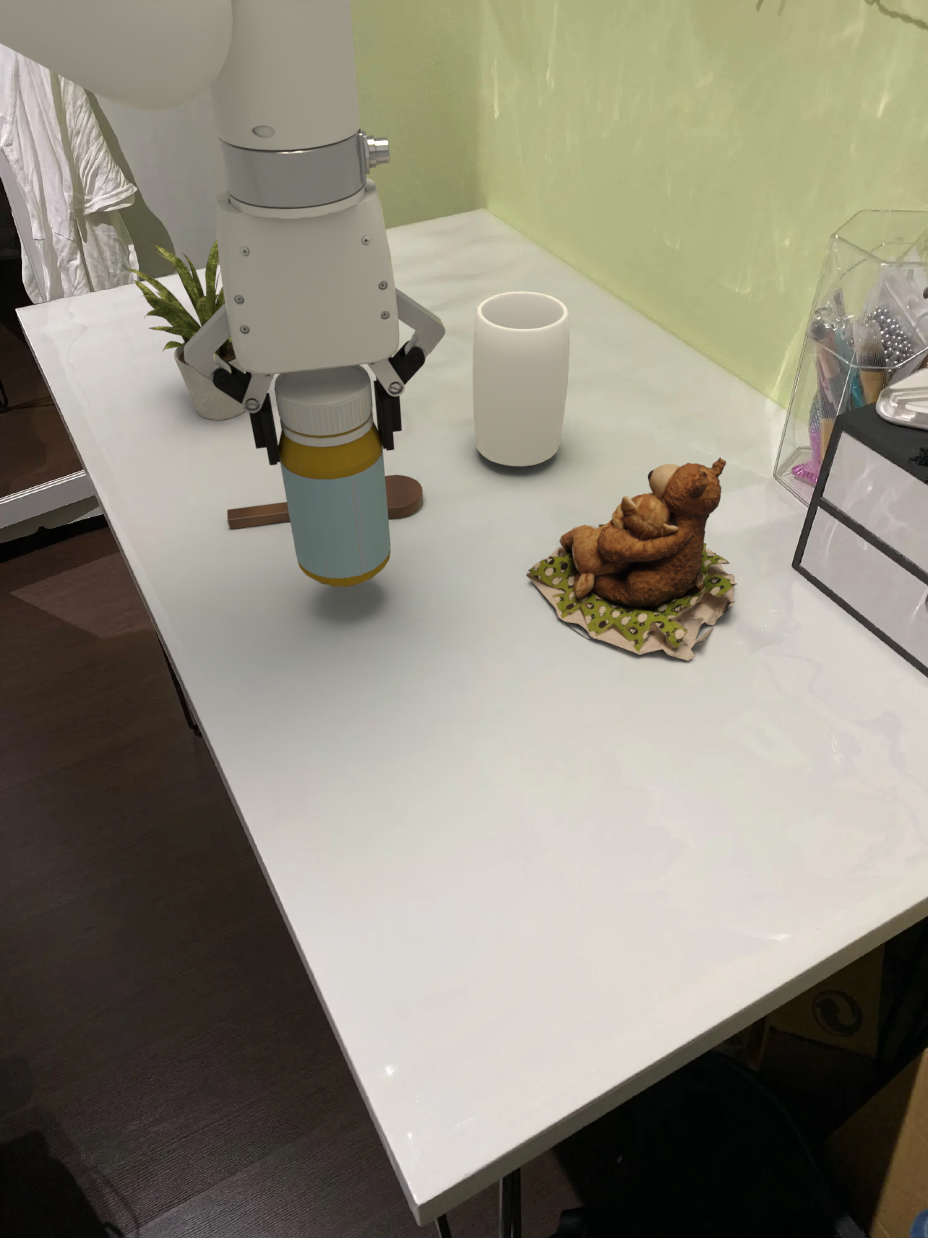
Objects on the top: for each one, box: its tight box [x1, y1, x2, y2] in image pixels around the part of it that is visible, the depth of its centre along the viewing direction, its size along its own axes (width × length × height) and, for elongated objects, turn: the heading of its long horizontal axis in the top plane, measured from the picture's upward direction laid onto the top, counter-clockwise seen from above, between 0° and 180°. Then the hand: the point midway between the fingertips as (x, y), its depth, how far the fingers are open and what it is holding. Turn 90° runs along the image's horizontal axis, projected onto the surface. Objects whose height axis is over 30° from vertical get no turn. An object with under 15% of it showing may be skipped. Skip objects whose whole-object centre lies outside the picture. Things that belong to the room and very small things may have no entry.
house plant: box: [122, 239, 246, 421], centre depth 88 cm, size 14×14×16 cm
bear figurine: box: [525, 457, 738, 662], centre depth 67 cm, size 14×15×12 cm
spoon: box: [226, 474, 424, 530], centre depth 79 cm, size 17×5×1 cm, turn 102°
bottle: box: [273, 365, 391, 588], centre depth 63 cm, size 7×7×15 cm
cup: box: [472, 291, 571, 467], centre depth 81 cm, size 8×8×14 cm
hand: (330, 445), depth 62 cm, fingers closed on bottle, 7 cm apart
